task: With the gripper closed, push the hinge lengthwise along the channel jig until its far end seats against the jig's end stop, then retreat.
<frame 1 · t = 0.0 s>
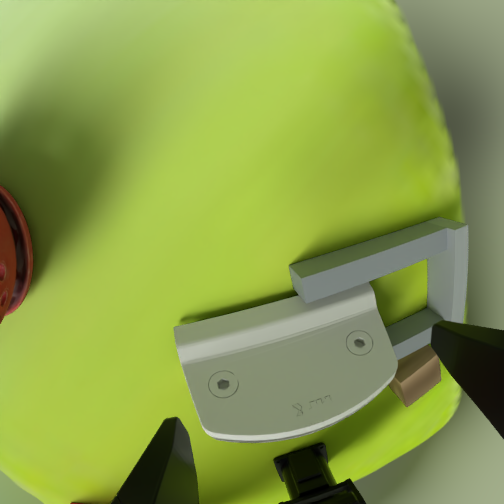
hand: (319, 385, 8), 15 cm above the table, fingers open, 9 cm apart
hinge: (278, 335, 25), on the table
channel jig: (371, 300, 26), on the table
spacer block: (403, 362, 29), on the table
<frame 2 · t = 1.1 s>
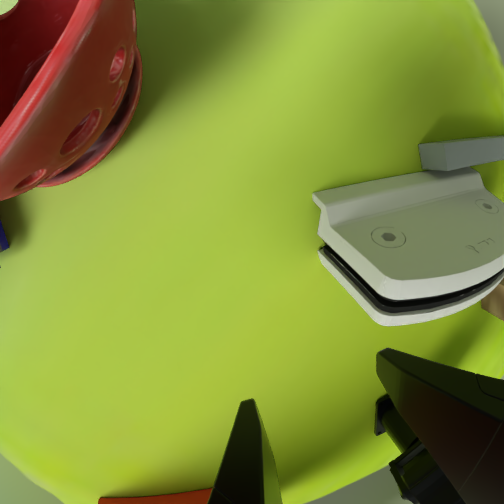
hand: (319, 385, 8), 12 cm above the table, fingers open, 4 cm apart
hinge: (407, 222, 22), on the table
channel jig: (474, 198, 22), on the table
spacer block: (491, 278, 26), on the table
plant pot: (66, 93, 15), on the table
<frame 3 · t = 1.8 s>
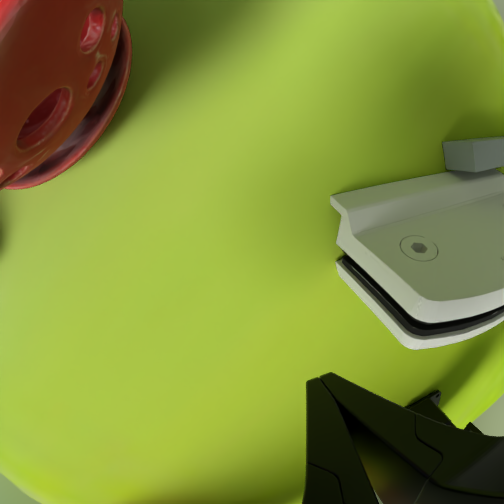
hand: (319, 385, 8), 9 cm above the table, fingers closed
hinge: (430, 228, 19), on the table
channel jig: (496, 201, 19), on the table
plant pot: (47, 82, 12), on the table
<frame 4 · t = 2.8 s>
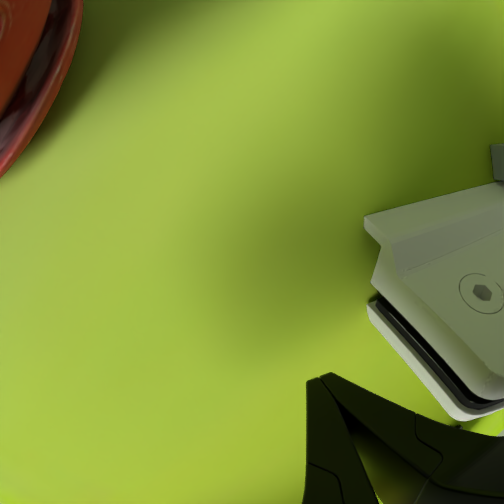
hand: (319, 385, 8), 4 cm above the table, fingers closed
hinge: (474, 251, 14), on the table
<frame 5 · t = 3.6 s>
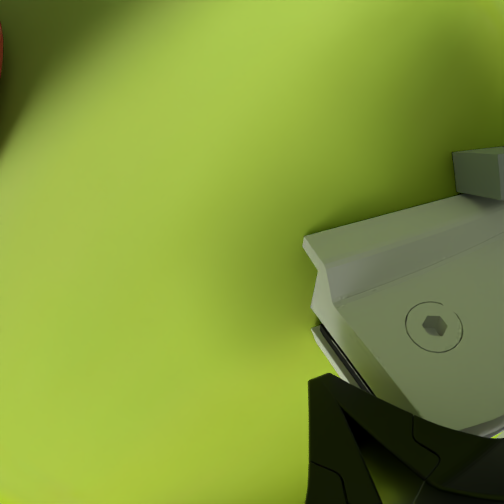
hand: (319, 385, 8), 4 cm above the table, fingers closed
hinge: (446, 268, 14), on the table, touching gripper
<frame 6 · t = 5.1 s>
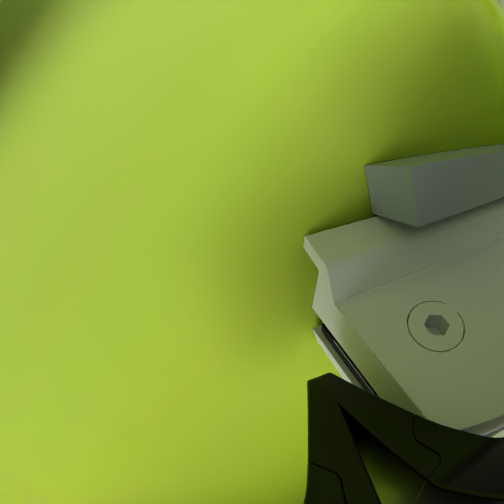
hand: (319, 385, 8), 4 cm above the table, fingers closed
hinge: (447, 266, 14), on the table, touching gripper
channel jig: (474, 250, 13), on the table
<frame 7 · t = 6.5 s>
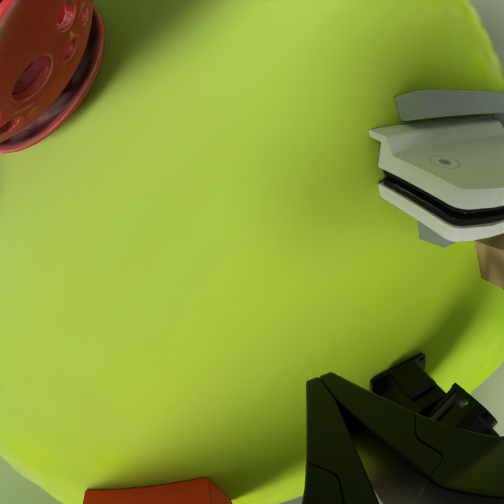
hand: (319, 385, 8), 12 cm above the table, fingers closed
file binder: (155, 498, 26), on the table
hinge: (446, 163, 21), on the table
channel jig: (463, 156, 21), on the table
spacer block: (489, 246, 24), on the table
plant pot: (38, 67, 13), on the table
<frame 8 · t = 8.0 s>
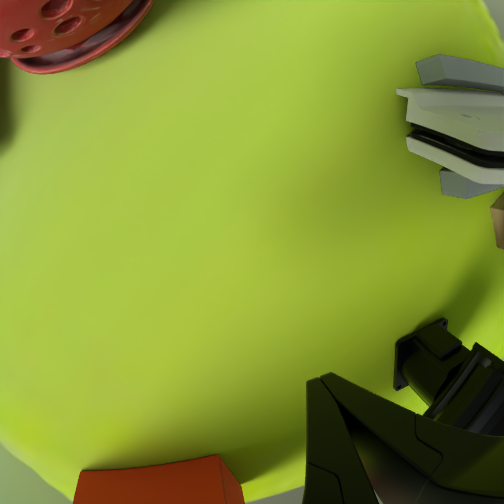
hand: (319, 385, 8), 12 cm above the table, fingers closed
file binder: (157, 481, 25), on the table
hinge: (463, 129, 21), on the table
channel jig: (477, 124, 20), on the table
spacer block: (503, 216, 24), on the table
plant pot: (85, 7, 13), on the table
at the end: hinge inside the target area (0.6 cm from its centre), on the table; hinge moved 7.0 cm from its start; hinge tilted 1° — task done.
